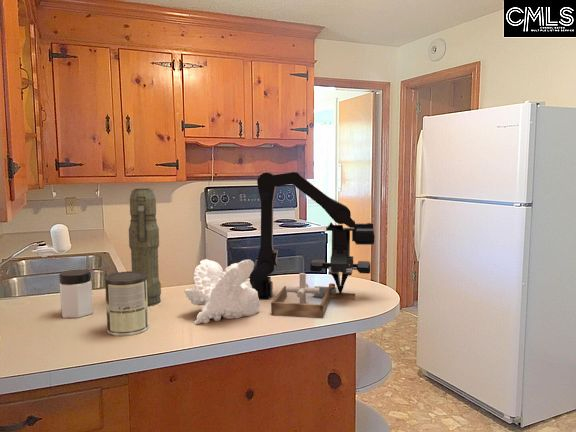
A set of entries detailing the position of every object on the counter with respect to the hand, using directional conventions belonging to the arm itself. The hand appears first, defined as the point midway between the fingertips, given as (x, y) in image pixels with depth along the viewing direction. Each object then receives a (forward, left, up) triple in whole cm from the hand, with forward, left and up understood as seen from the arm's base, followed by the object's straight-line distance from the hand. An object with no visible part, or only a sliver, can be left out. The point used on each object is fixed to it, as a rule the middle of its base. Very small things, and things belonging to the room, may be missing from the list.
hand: (340, 292), depth 150 cm
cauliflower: (-31, -25, -2) cm, 40 cm away
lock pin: (-5, 0, -1) cm, 5 cm away
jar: (-72, -31, -2) cm, 79 cm away
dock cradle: (-7, -10, -1) cm, 12 cm away
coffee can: (-51, -40, -2) cm, 65 cm away
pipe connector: (-10, -12, -2) cm, 16 cm away
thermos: (-58, -17, -2) cm, 61 cm away
